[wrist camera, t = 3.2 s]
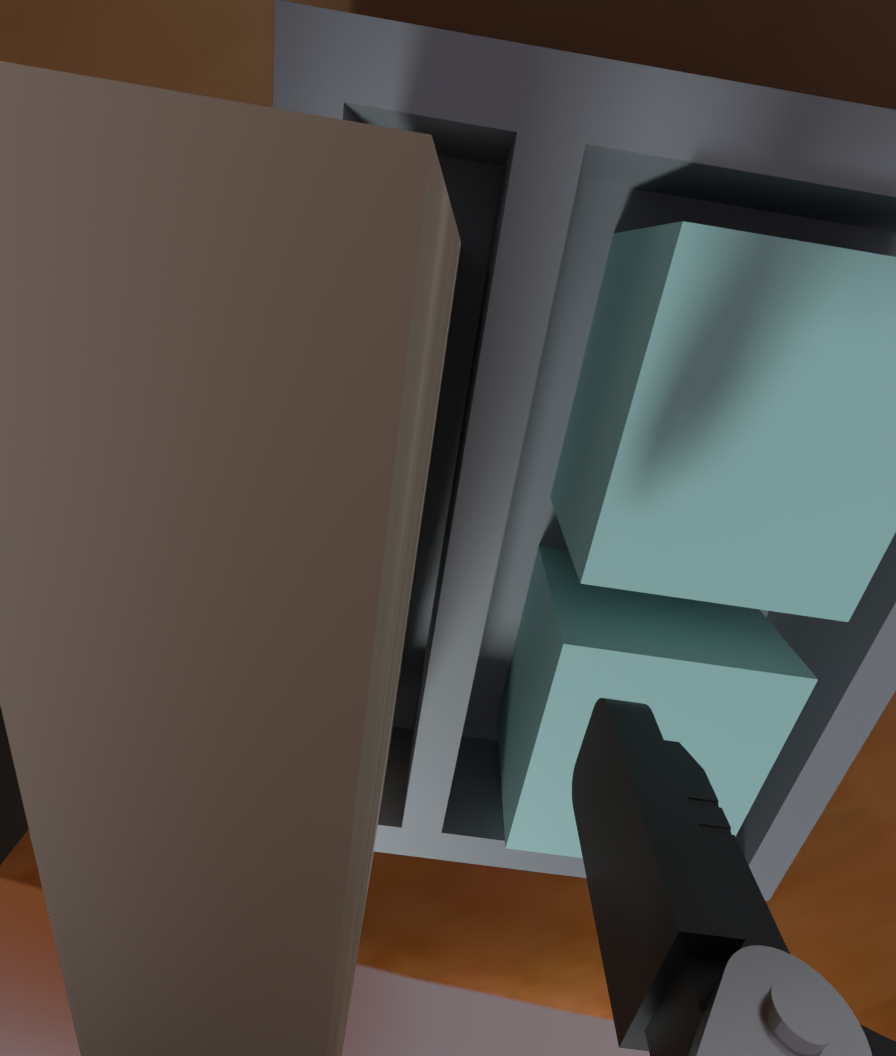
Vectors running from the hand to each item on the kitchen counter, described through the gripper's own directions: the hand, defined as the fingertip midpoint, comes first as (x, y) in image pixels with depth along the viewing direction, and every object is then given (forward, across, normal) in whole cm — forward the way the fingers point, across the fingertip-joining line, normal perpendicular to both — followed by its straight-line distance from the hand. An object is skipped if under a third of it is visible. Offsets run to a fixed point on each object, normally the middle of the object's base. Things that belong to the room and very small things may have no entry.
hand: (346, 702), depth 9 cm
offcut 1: (+9, -7, -4) cm, 12 cm away
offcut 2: (+9, -7, +4) cm, 12 cm away
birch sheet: (+9, 0, 0) cm, 9 cm away
